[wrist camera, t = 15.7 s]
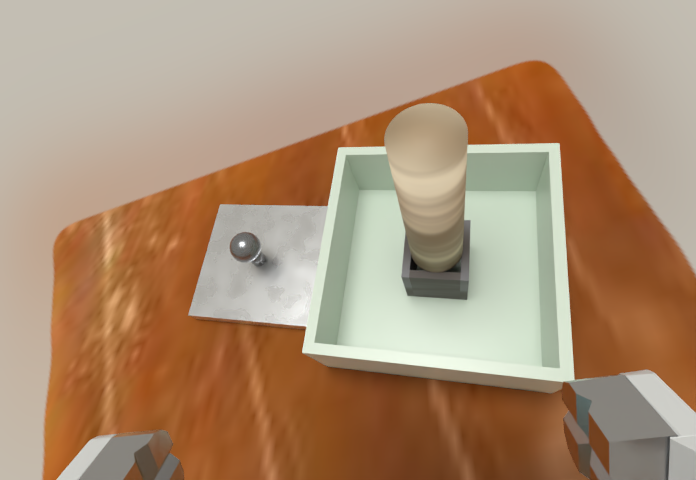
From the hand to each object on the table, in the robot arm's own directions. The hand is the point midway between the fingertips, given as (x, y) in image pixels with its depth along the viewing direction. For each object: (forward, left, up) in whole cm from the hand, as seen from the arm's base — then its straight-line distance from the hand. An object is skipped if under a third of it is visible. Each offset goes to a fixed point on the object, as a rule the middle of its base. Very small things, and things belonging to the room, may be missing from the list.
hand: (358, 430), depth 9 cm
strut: (+13, 0, -27) cm, 30 cm away
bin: (+13, 0, -28) cm, 31 cm away
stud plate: (+13, +17, -28) cm, 35 cm away
